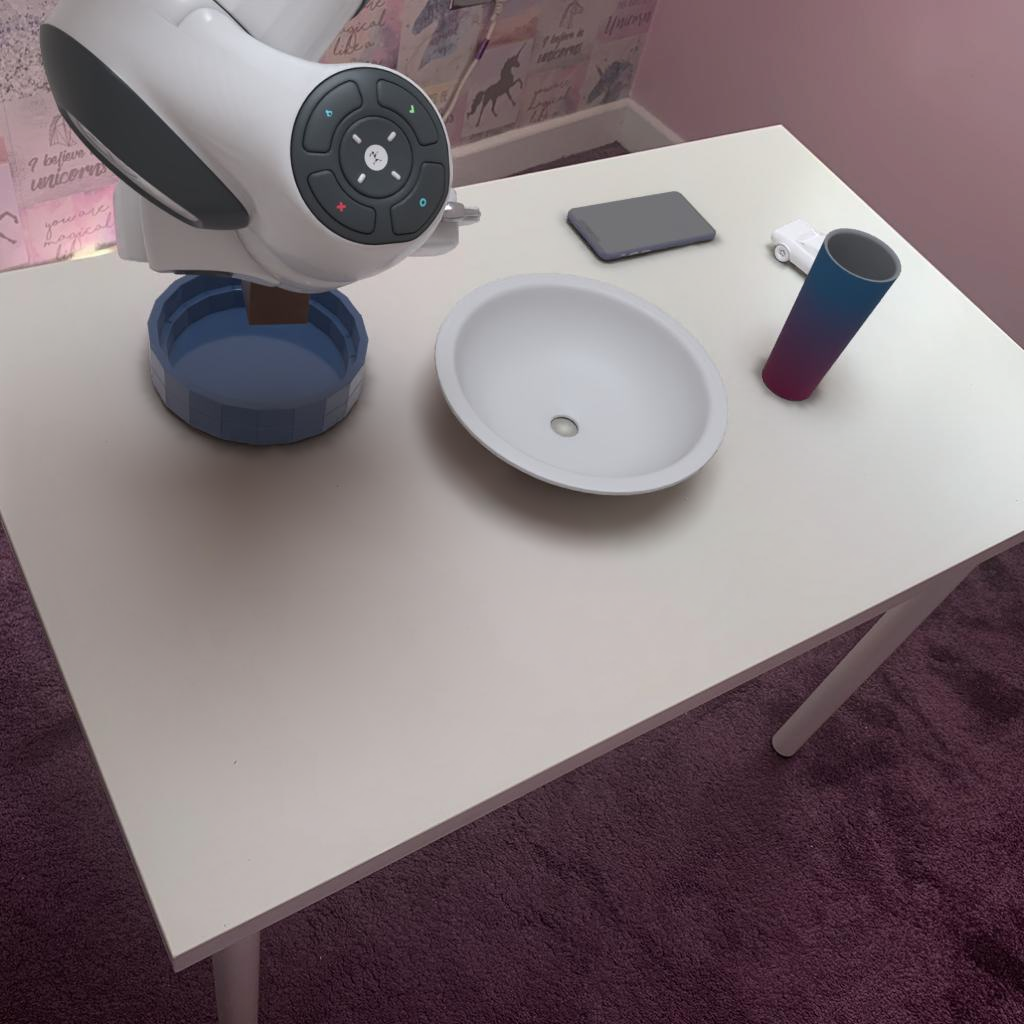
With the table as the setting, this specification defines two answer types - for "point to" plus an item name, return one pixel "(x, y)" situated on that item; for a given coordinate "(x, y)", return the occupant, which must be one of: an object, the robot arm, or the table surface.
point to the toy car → (797, 244)
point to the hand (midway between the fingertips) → (275, 237)
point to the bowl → (254, 362)
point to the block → (274, 305)
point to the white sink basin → (581, 383)
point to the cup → (829, 310)
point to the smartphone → (640, 224)
